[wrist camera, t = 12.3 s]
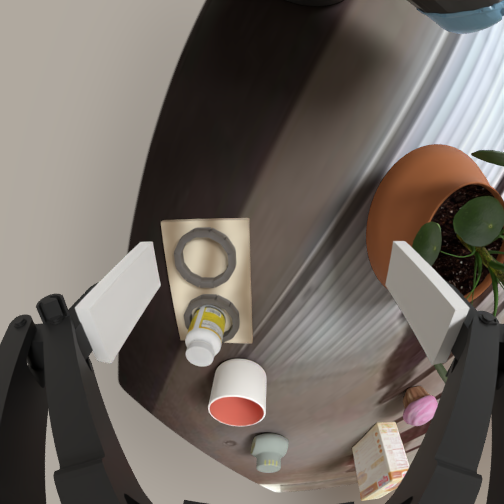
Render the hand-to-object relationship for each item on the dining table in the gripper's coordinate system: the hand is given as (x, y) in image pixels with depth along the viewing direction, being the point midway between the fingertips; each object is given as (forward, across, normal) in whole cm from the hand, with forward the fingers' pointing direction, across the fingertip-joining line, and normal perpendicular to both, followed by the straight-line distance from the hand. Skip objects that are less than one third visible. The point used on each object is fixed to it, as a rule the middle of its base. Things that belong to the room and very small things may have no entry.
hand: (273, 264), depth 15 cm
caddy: (+25, -10, -16) cm, 32 cm away
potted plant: (+26, +25, -3) cm, 36 cm away
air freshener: (+24, 0, -63) cm, 68 cm away
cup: (+25, -6, -36) cm, 44 cm away
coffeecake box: (+25, +30, -67) cm, 78 cm away
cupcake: (+25, +35, -47) cm, 64 cm away
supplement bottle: (+24, -10, -22) cm, 34 cm away
